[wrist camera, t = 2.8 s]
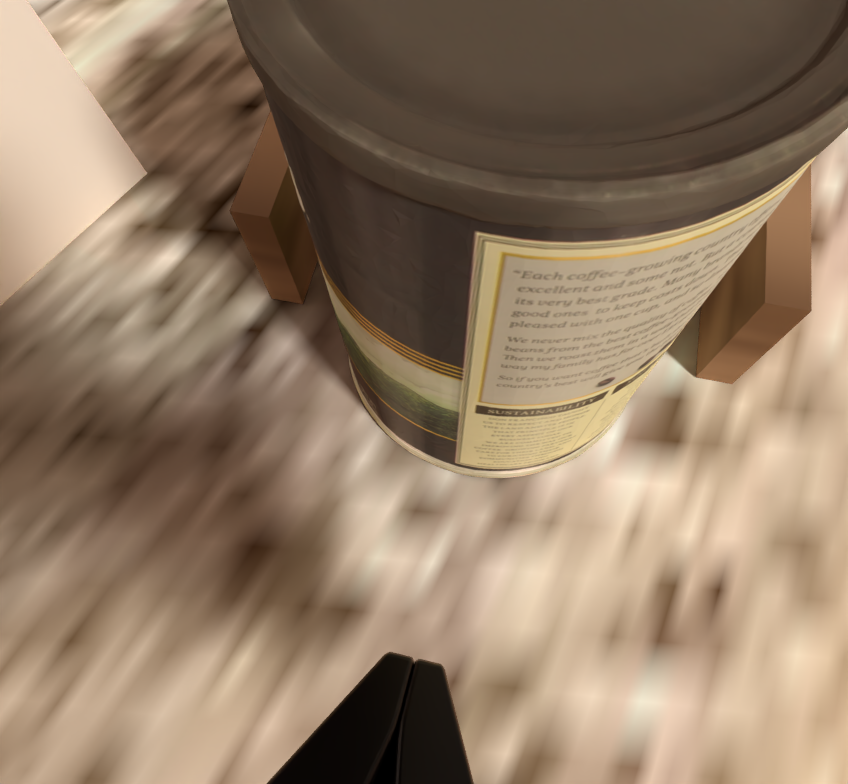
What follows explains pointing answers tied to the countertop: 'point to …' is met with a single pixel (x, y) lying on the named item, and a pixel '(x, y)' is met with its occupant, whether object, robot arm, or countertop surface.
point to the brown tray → (720, 313)
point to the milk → (49, 150)
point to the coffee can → (535, 192)
